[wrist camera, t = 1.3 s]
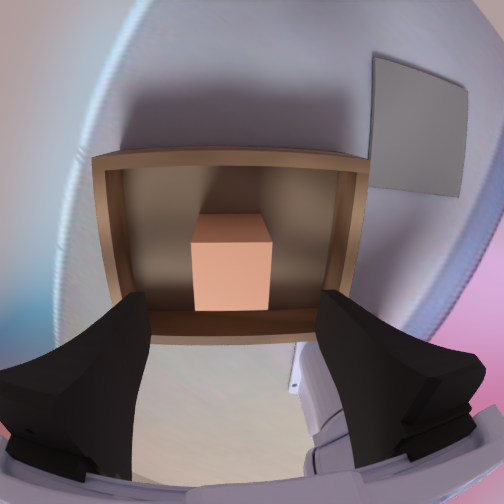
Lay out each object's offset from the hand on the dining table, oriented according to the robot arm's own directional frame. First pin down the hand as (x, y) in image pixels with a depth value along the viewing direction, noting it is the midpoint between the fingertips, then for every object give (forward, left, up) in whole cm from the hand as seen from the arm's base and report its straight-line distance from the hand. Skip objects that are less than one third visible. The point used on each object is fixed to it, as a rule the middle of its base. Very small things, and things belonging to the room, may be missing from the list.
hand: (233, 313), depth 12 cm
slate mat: (+9, -15, -10) cm, 20 cm away
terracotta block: (0, 0, -9) cm, 9 cm away
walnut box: (0, 0, -10) cm, 10 cm away
